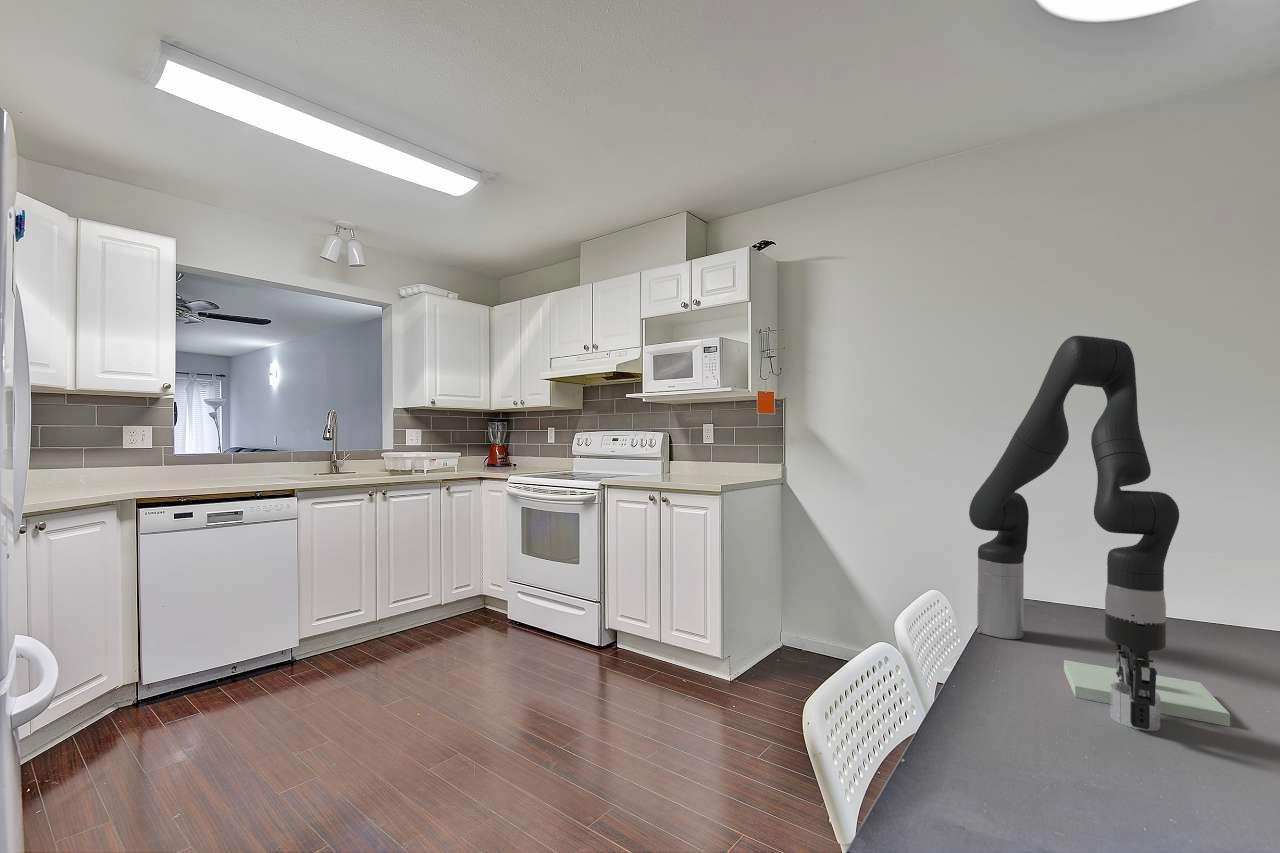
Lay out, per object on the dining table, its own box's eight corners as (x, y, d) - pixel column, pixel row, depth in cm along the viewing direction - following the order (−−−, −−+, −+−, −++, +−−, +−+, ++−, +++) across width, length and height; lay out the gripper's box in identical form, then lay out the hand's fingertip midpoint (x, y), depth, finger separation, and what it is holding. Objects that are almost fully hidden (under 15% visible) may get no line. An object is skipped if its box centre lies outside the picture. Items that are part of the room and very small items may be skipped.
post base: (1075, 697, 103) (1075, 657, 103) (1064, 670, 115) (1064, 634, 115) (1230, 726, 93) (1230, 682, 93) (1199, 693, 105) (1199, 654, 106)
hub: (1115, 724, 93) (1115, 693, 93) (1107, 709, 98) (1107, 679, 99) (1164, 734, 90) (1164, 702, 90) (1153, 718, 96) (1153, 687, 96)
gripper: (1097, 600, 103) (1097, 696, 102) (1115, 622, 90) (1114, 731, 90) (1152, 606, 99) (1152, 706, 99) (1179, 630, 87) (1179, 744, 86)
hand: (1134, 717), depth 94 cm, fingers closed on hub, 6 cm apart
